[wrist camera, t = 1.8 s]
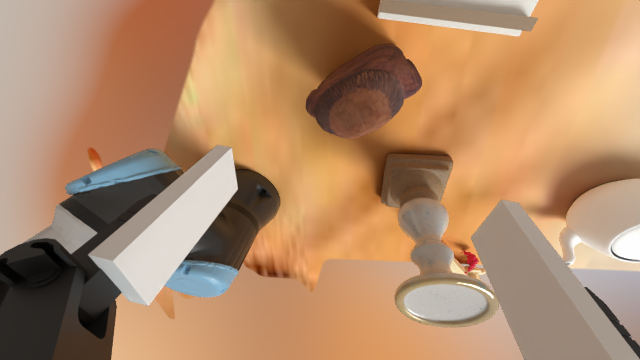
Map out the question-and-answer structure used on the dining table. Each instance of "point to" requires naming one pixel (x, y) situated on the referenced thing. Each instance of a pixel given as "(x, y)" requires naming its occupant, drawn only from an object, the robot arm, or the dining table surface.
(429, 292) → the candle holder
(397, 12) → the display plinth
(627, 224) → the teapot
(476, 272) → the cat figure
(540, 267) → the robot arm
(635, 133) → the dining table surface
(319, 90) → the wooden figurine
